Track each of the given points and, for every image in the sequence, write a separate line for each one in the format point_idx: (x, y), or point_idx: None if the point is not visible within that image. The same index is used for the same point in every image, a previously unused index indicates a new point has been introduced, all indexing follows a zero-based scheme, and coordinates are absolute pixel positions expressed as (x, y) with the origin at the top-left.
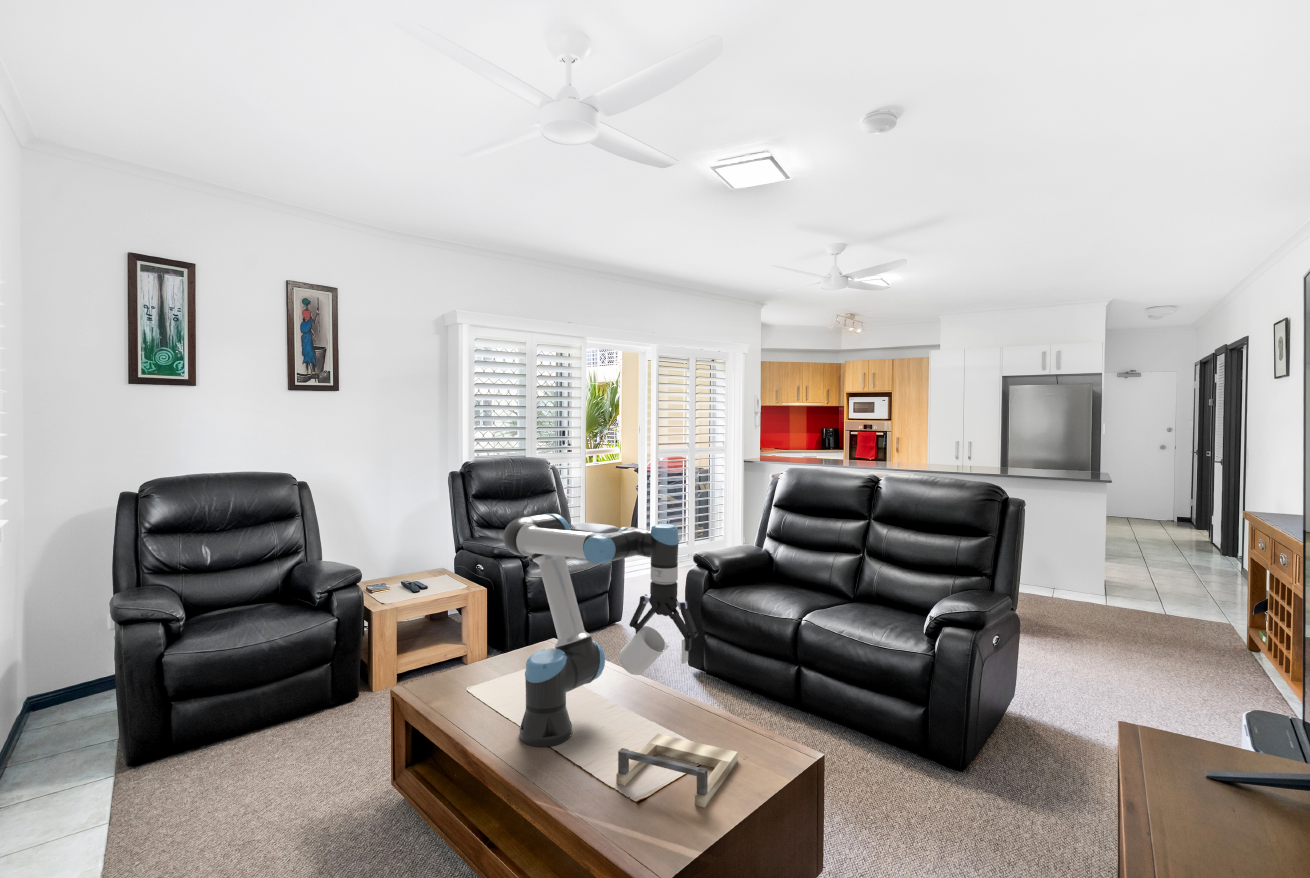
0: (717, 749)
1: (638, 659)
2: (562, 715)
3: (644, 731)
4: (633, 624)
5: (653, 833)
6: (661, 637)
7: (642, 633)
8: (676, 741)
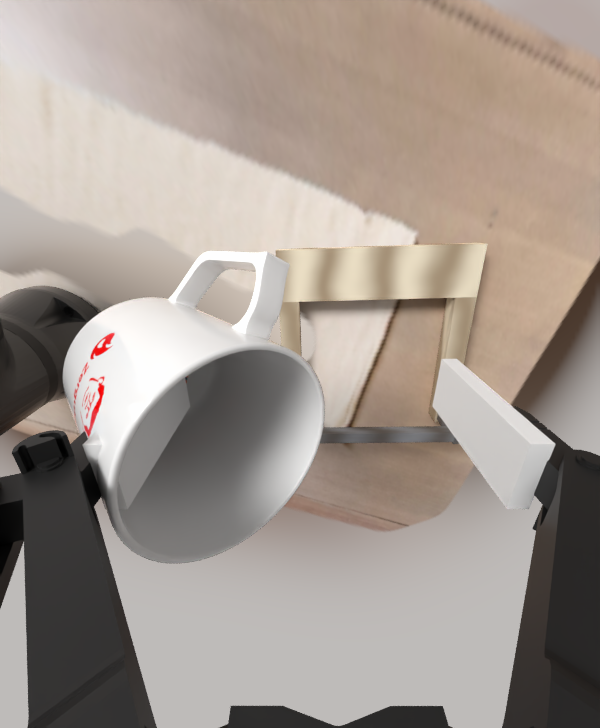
0: (437, 256)
1: (223, 457)
2: None
3: (221, 212)
4: (19, 552)
5: (392, 482)
6: (250, 349)
7: (132, 462)
8: (334, 266)
